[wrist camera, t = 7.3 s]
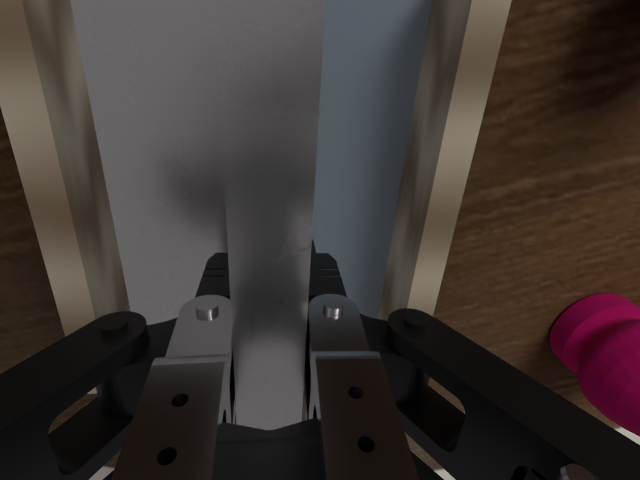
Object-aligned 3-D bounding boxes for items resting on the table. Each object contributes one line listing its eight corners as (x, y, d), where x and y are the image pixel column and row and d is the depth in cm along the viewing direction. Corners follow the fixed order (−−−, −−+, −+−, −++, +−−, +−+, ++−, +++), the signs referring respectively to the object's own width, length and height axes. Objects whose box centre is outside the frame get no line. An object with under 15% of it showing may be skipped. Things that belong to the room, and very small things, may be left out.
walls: (22, -72, 14) (-62, -115, 11) (468, -21, 17) (522, -42, 13) (111, 341, 23) (81, 393, 19) (396, 336, 25) (416, 382, 22)
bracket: (87, -12, 11) (-164, -104, 5) (299, 6, 11) (328, -51, 5) (158, 395, 18) (97, 575, 11) (287, 389, 18) (293, 555, 12)
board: (3, -71, 15) (-7, -76, 14) (482, -16, 17) (489, -18, 17) (98, 335, 23) (94, 341, 23) (407, 329, 26) (410, 335, 25)
